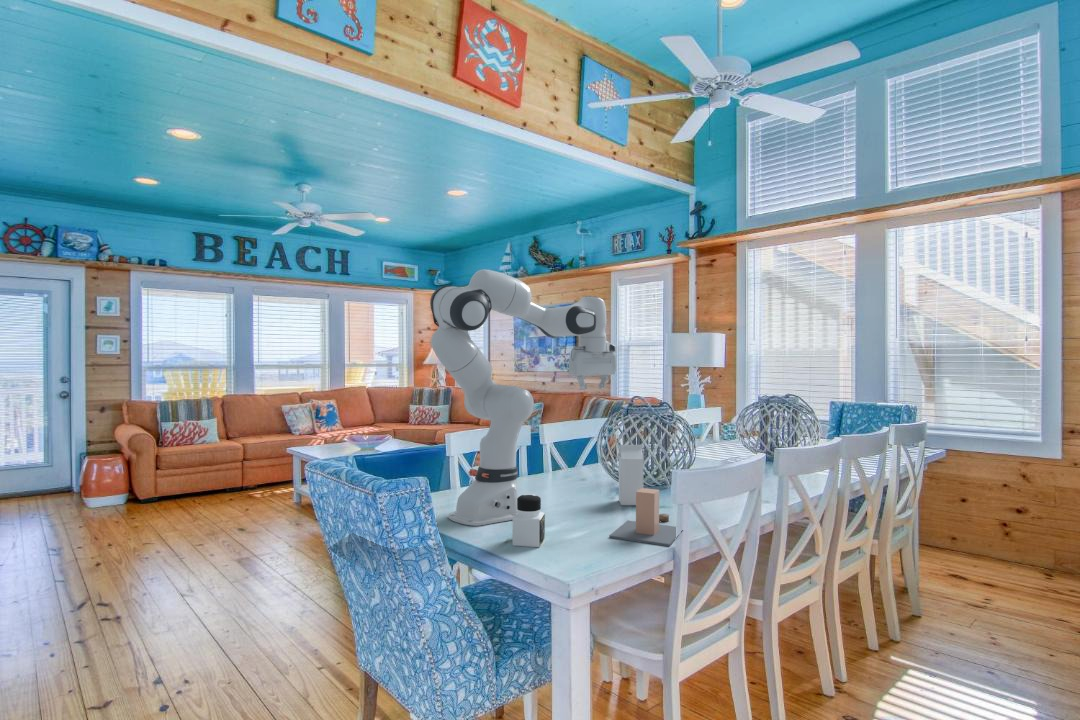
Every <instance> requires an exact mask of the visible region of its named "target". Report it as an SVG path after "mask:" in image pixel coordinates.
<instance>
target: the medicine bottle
mask: <svg viewBox="0 0 1080 720" xmlns="http://www.w3.org/2000/svg"><path fill="white" fill-rule="evenodd" d="M541 502H542V498H541V497H540V496H538V495H537V494H530V493H527V494H522V495H520V496H519V495H518V498H517V514H516V515H515V516H514V517H513V520H512V546H513V547H527V548H540V547H541V546H542V544H543V542H544V541H545V539H546V537H545V534H546V533H545V532H546V530H545V527H546V526H545V524H546V522H545V521H546V520H545V519H546V513H545V511H541V510H542V509H541V507H542V506H541V505H542V503H541Z"/></svg>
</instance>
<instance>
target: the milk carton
mask: <svg viewBox="0 0 1080 720" xmlns="http://www.w3.org/2000/svg"><path fill="white" fill-rule="evenodd" d="M644 461H645V460H644V454H643V445H642V444H620V445H619V452H618V501H619V504H620V505H621V506H636V491H638V490H639V489H641V488H644Z"/></svg>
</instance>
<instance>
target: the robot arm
mask: <svg viewBox="0 0 1080 720" xmlns="http://www.w3.org/2000/svg"><path fill="white" fill-rule="evenodd" d="M532 297H533V295H532V290H531V288H530V286H529V285H528V284H526V283H525V282H524V281H522V280H521V279H518V278H516V277H514V276H511V275H509V274H507V273H506V274H505V273H503V272H500V271H496V270H491V269H479V270H477V271H476V272H475V273H473V275H472V276H471V277H470V280H469V284H468V285H467V286H464V287H460V286H455V285H451V284H449V285H447V284H446V285H443V286H440V287H438V288H436V289H435V290H434V292H433V293H432V295H431V297H430V303H429V304H430V310H431V313H432V320H433V323H434V325H436V326H437V327H438V328H437V329H436V330H435V331H434V333H432V335H431V338H430V346H431V349H432V350H433V352H434V354H435V356H436V357H437V359H438V361H439V362H440V363H441V365H442V366H443V367H444V369H445V370H446V372H448V374H450V376H451V377H452V378H453V380H454V381H455V382H456V383H457V385H458V386H459V387H460V388H461V390H462V393H463V394H464V399H463V405H464V409H465V410H466V412H467V413H468V414H469V415H470V416H473V417H475V418H477V419H480V420H487V421H490V425H489V429H488V432H487V433H486V434H485V435H484V436H483V437H482V438H481V439H480V442H479V466H478V468H477V470H476V469H474V468H470V469H469V470H468V475H469V476H471V477H474V480H473V481H472V483H471V484H469V486H468V487H467V488H466V489H465V490H464V491H463V492H462V493H461V494H459V496H458V497H457V500H456V506H455V507H456V509H455V511H451V512H449V513H448V519H449V520H451V521H453V522H455V523H458V524H460V525H461V524H462V525H466V526H472V527H473V526H475V527H478V526H484V525H490V524H496V523H502V522H506V521H507V522H508V521H511V520H512V521H513V517H514V516H515V515H516V514H517V498H518V497H519V491H518V484H517V479H518V477H519V476H518V473H519V472H518V471H519V470H518V466H517V445H518V444H517V443H518V438H519V434H520V430H521V428H522V427H523V425H524V423H525V422H526V421H527V420H528V419H529V418H531V416H532V414H533V411H534V407H535V401H534V397H533V395H532V393H531V392H530V391H529V390H527V389H525V388H522V387H521V386H517V385H509V384H508V385H507V384H506V385H505V384H500V383H499V384H498V383H497V382H495V380H494V379H493V378H492V372H493V366H492V364H491V362H490V361H489V360H488V359H487V357H486V356H485V355H484V353H483V352H482V351H481V350H480V348H479V347H478V346H477V345H476V343H475V342H474V341H473V340H472V339H471V337H470V334H469V331H475V330H477V329H480V328H481V327H482V326H483V325H484V323H485V322H486V320H487V319H488V316H489V313H490V312H491V311H494V312H496V313H499V314H503V315H506V316H509V317H514V318H518V319H520V320H522V321H524V322H526V323H528V324H531V325H533V326H535V327H536V328H537V329H539V330H540V331H541V332H542V333H543V334H544V335H545V336H547V337H548V338H551V339H553V338H554V339H556V338H562V337H575V336H576V337H578V336H579V338H578V339H579V340H578V341H579V343H578V346H574V347H573V348H572V349H571V350H570V355H569V360H568V370H567V371H568V374H569V376H572V377H573V376H574V377H576V379H577V382H578V384H579V390H580V391H587V389H588V388H587V387H588V384H586V383H585V379H586V376H600V382H599V383H598V389H599V390H605V389H606V383H608V382H607V381H608V379H609V376H611V375H613V376H614V375H615V374H616V372H617V355H616V352H617V345H615V344H613V343H611V342H609V341H608V340H607V333H606V328H607V308H606V303H605V301H604V299H602V298H601V297H598V296H594V295H586V296H583V297H581V299H580V300H579V301H577V302H575V303H573V304H570V305H567V306H566V305H564V306H557V307H555V306H552V307H551V306H549V307H542V306H540V305H538V304H536V303H534V302H532V300H533V299H532Z"/></svg>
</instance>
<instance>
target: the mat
mask: <svg viewBox="0 0 1080 720" xmlns="http://www.w3.org/2000/svg"><path fill="white" fill-rule="evenodd" d="M676 527H677V526H674V525H673V526H672V525H666V524H660V523H659V531H658V532H657V533H656V534H655V535H649V534H642V533H636V520H626V521H625V522H623V523H622V525H620V526H619V527H618V528H617V529H616V530H614V531H613V532H612V533H611V534H609V535H608V536H609V538H610V539H614V538H615V540H621V539H622V541H628V540H629V542H635V541H636V543H642V542H644V543H643V544H649V543H650V544H649V545H657V546H665V547H671V546H672V544H674V542H675V541H676V540H675V538H676ZM676 539H677V538H676ZM637 541H638V542H637Z"/></svg>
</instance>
